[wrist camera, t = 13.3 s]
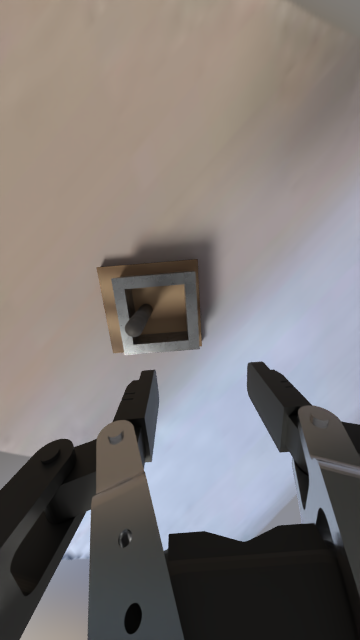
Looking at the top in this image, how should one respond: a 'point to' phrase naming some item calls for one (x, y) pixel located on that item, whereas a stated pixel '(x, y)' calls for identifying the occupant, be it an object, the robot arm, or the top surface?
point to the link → (158, 340)
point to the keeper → (148, 301)
